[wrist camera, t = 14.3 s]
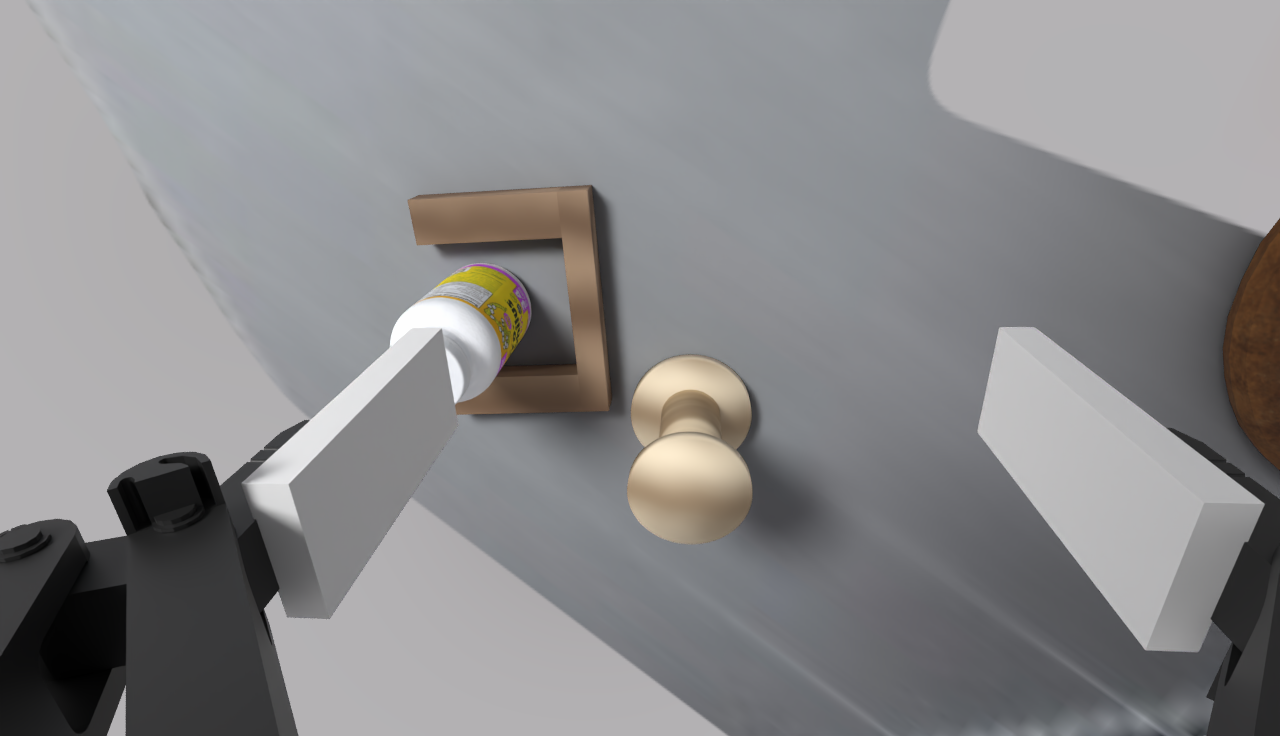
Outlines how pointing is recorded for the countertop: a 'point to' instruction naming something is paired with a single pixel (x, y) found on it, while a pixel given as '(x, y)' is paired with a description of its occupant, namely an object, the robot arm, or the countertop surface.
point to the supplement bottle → (473, 323)
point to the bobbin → (690, 450)
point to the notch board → (575, 224)
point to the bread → (1257, 349)
